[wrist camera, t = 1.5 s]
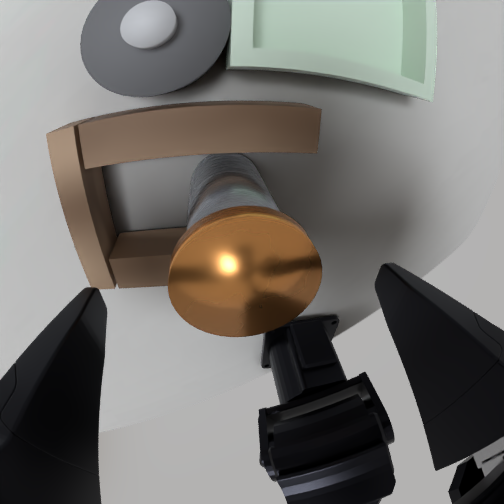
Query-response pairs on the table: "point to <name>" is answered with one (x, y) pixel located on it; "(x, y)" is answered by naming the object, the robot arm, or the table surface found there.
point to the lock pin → (240, 254)
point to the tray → (339, 41)
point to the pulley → (153, 43)
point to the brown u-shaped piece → (150, 147)
